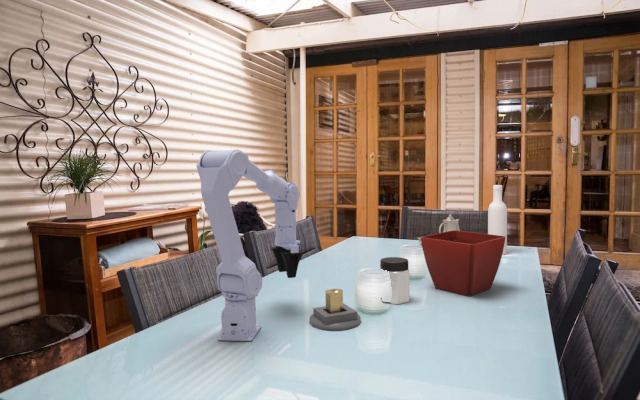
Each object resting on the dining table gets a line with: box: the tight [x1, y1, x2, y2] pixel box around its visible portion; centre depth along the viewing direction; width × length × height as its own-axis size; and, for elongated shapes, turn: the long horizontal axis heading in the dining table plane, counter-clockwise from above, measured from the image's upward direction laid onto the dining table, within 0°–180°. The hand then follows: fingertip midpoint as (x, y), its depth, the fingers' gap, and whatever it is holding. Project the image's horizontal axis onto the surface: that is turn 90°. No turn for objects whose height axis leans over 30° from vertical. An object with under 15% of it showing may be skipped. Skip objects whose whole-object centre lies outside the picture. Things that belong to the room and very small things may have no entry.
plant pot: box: [420, 230, 505, 297], centre depth 140 cm, size 19×19×17 cm
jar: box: [379, 256, 410, 305], centre depth 130 cm, size 9×8×12 cm
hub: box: [309, 302, 361, 332], centre depth 113 cm, size 13×13×3 cm
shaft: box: [325, 288, 344, 314], centre depth 113 cm, size 4×3×7 cm
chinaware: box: [416, 214, 461, 247], centre depth 211 cm, size 28×17×17 cm, turn 129°
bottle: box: [487, 184, 508, 256], centre depth 193 cm, size 8×8×30 cm
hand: (287, 274), depth 123 cm, fingers open, 7 cm apart
